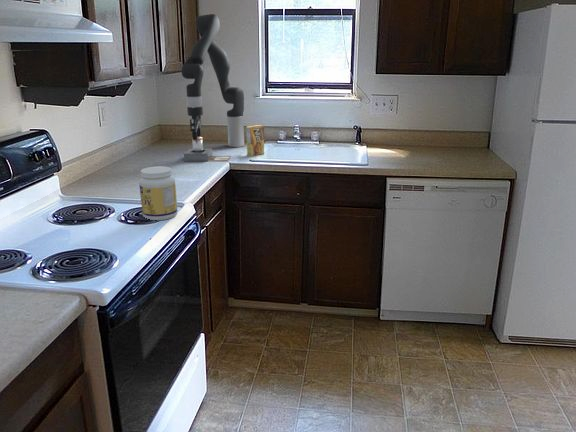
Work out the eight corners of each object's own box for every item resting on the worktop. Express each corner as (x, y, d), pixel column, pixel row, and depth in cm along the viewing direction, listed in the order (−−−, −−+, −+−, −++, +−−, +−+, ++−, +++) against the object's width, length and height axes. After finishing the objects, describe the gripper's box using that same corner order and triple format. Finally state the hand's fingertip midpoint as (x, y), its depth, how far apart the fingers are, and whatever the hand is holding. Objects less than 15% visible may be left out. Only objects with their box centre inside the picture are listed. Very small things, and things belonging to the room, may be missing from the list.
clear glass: (194, 157, 270) (193, 136, 266) (204, 157, 270) (203, 136, 266) (192, 159, 265) (190, 138, 261) (202, 159, 265) (201, 138, 261)
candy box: (260, 152, 284) (259, 124, 279) (264, 153, 281) (264, 125, 276) (246, 155, 279) (245, 126, 274) (251, 156, 276) (250, 127, 271)
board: (190, 157, 274) (190, 155, 274) (231, 157, 273) (231, 155, 272) (184, 163, 262) (184, 161, 261) (227, 163, 261) (227, 161, 260)
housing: (189, 156, 273) (189, 148, 272) (212, 156, 273) (211, 148, 271) (184, 161, 262) (183, 153, 261) (208, 161, 261) (207, 153, 260)
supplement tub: (135, 217, 184) (130, 170, 178) (163, 208, 193) (158, 163, 187) (157, 224, 177) (153, 175, 171) (185, 214, 186) (181, 168, 180)
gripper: (190, 104, 265) (192, 135, 271) (183, 107, 252) (186, 140, 257) (205, 104, 265) (206, 135, 270) (199, 107, 252) (201, 140, 257)
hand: (196, 138), depth 264 cm, fingers open, 8 cm apart
